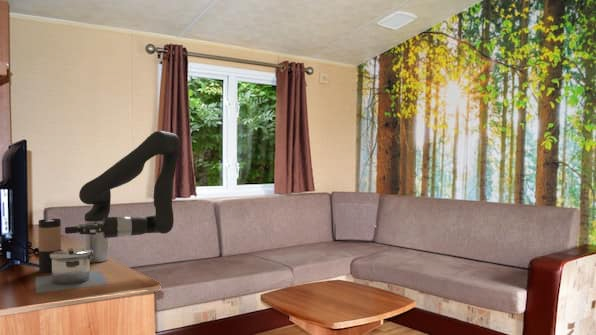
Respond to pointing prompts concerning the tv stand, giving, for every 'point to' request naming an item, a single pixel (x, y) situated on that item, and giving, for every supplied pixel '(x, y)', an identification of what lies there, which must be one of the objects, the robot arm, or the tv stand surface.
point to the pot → (71, 270)
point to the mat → (46, 285)
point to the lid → (71, 253)
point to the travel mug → (48, 242)
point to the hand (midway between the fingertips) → (65, 230)
